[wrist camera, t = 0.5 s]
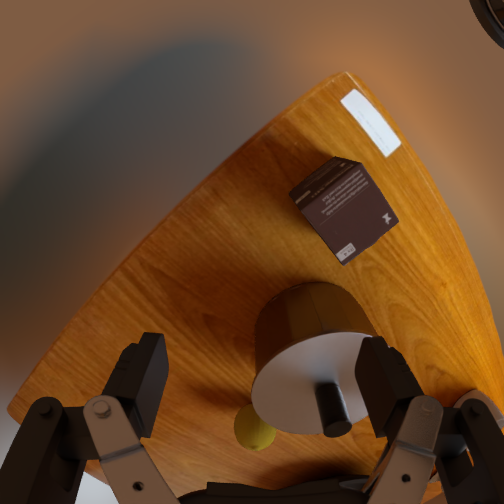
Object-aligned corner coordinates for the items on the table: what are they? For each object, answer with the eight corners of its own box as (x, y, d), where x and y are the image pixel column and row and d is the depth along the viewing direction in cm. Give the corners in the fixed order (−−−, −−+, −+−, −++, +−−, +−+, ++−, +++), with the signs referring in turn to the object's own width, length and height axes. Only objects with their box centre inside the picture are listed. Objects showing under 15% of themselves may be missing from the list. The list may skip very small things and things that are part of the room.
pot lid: (253, 325, 23) (254, 374, 18) (410, 320, 24) (440, 358, 18) (249, 428, 28) (249, 471, 23) (372, 419, 29) (386, 457, 23)
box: (335, 154, 27) (362, 159, 20) (369, 202, 29) (401, 221, 22) (286, 192, 29) (298, 210, 22) (323, 239, 30) (343, 268, 23)
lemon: (248, 386, 37) (248, 433, 30) (282, 400, 38) (287, 445, 31) (227, 408, 39) (224, 453, 32) (260, 420, 40) (262, 463, 33)
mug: (440, 410, 42) (461, 448, 33) (477, 378, 40) (502, 413, 30) (458, 424, 45) (476, 457, 36) (489, 397, 43) (510, 428, 34)
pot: (256, 281, 32) (259, 335, 23) (371, 281, 32) (407, 328, 23) (253, 371, 36) (254, 430, 28) (350, 368, 37) (371, 421, 28)
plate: (266, 471, 46) (267, 494, 41) (389, 442, 45) (397, 464, 39) (287, 511, 56) (288, 528, 51) (377, 491, 54) (382, 507, 49)
